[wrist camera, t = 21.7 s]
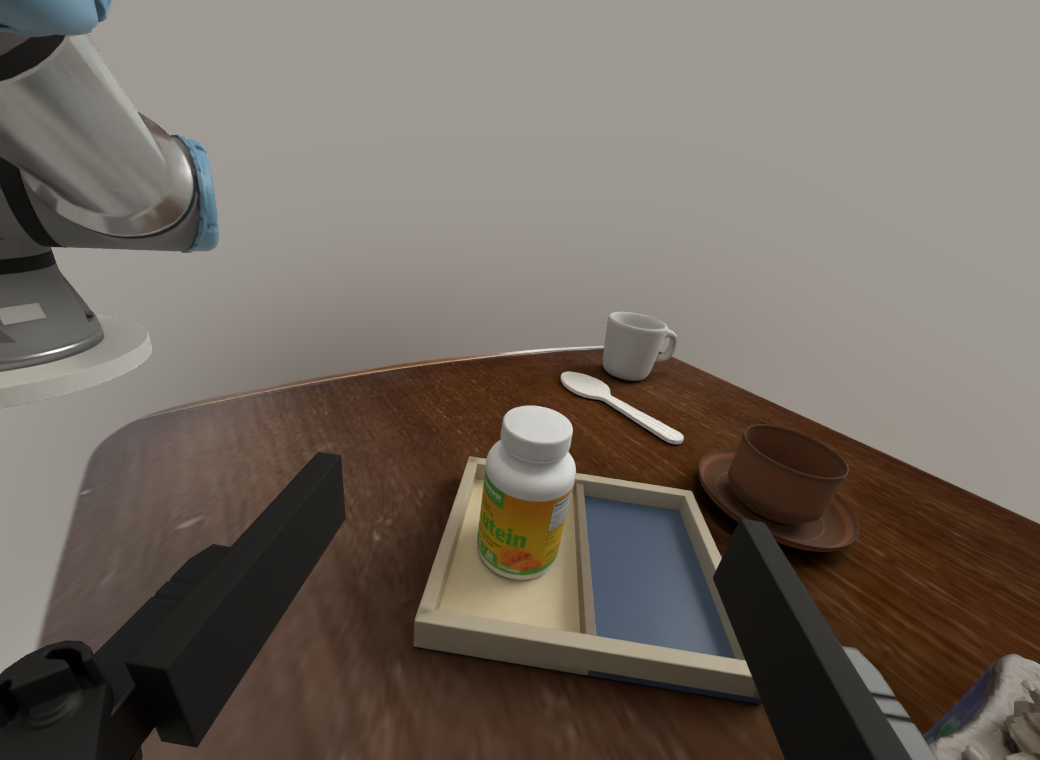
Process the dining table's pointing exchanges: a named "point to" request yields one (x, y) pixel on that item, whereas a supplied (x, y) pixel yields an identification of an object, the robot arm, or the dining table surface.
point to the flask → (993, 716)
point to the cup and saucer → (783, 487)
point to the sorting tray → (593, 593)
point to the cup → (635, 345)
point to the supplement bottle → (526, 493)
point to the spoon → (617, 404)
